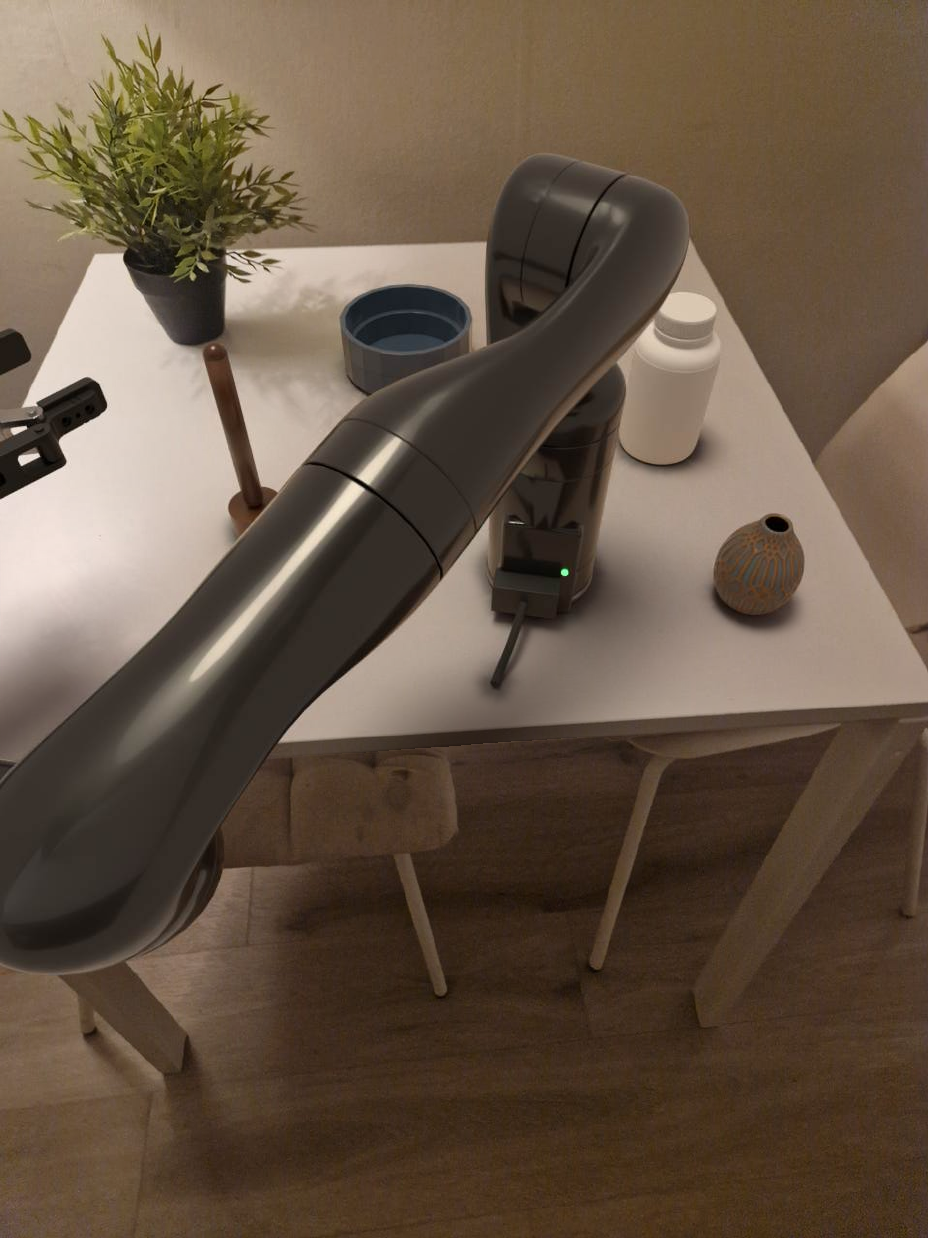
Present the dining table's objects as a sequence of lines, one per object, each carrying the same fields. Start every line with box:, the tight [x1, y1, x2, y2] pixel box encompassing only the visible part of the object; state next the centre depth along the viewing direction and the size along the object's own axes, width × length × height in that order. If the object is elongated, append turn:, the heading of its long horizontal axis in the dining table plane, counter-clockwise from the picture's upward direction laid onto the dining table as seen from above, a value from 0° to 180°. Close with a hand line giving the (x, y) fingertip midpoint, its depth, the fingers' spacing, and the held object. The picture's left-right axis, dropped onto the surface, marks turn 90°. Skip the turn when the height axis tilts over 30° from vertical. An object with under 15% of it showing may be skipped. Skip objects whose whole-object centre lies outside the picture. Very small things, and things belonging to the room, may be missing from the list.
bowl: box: [339, 283, 473, 395], centre depth 88 cm, size 14×14×6 cm
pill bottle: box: [618, 291, 723, 466], centre depth 76 cm, size 8×8×15 cm
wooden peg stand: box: [202, 341, 279, 539], centre depth 66 cm, size 5×5×19 cm
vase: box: [713, 512, 806, 616], centre depth 65 cm, size 7×7×9 cm
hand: (61, 366), depth 51 cm, fingers open, 8 cm apart
